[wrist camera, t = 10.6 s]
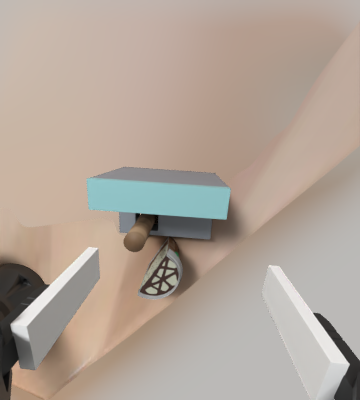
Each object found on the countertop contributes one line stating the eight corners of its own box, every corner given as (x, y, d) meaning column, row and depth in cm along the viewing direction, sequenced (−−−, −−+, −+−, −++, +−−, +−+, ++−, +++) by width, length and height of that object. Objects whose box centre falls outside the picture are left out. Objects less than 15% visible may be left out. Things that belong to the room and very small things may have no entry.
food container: (166, 279, 49) (161, 311, 40) (146, 267, 49) (136, 296, 39) (193, 244, 46) (194, 270, 37) (172, 231, 46) (168, 253, 36)
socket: (125, 225, 46) (93, 265, 30) (124, 166, 42) (86, 178, 26) (208, 231, 45) (218, 276, 30) (214, 173, 41) (230, 189, 26)
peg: (143, 206, 44) (123, 232, 31) (157, 207, 44) (144, 234, 31) (143, 219, 45) (123, 251, 32) (157, 220, 45) (143, 252, 32)
